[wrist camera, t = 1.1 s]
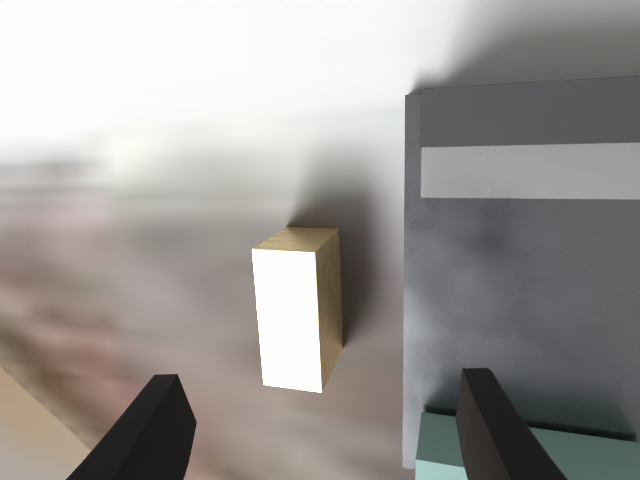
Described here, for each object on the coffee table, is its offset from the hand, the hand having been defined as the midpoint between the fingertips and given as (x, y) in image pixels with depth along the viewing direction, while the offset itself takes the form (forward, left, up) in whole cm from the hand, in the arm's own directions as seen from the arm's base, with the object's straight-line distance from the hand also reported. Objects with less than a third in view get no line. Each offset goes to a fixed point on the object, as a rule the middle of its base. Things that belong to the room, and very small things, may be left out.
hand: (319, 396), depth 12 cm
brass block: (-2, +4, -13) cm, 14 cm away
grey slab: (-2, -7, -13) cm, 15 cm away
